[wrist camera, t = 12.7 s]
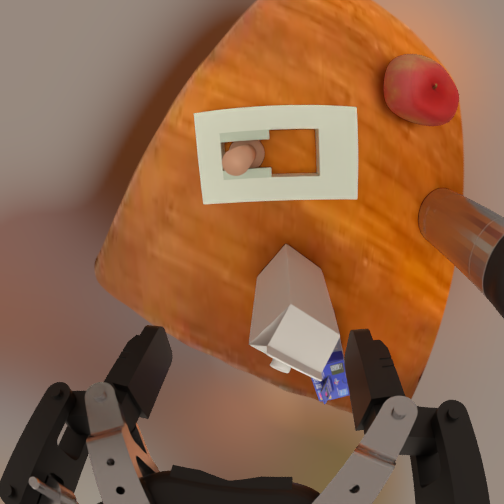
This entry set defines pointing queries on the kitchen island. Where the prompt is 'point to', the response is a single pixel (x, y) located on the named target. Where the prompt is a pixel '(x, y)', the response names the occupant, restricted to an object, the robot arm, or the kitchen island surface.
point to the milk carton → (293, 315)
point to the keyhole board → (261, 179)
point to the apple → (420, 90)
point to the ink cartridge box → (333, 377)
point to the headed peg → (243, 157)
